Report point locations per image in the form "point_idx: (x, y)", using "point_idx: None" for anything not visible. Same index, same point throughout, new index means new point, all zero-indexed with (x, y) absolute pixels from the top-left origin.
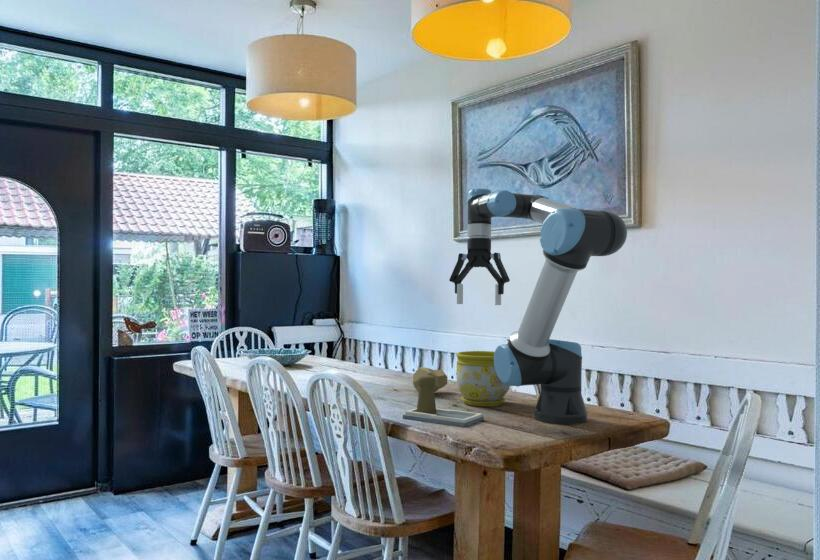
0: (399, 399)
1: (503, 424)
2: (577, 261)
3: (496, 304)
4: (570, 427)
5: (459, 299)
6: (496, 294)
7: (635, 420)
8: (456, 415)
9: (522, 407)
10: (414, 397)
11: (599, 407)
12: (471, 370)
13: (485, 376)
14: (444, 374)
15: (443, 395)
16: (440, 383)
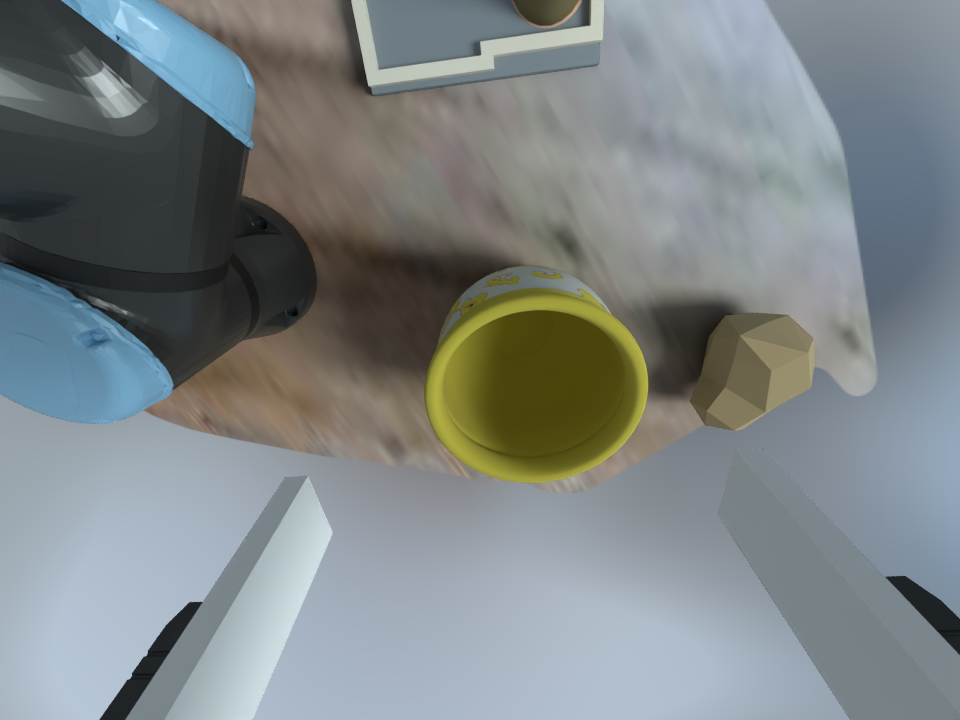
0: (774, 207)
1: (290, 75)
2: None
3: (292, 482)
4: None
5: (765, 500)
6: (229, 581)
7: None
8: (441, 29)
9: (410, 341)
10: (740, 271)
11: (294, 444)
12: (524, 282)
13: (472, 293)
14: (711, 410)
15: (672, 353)
16: (706, 383)
